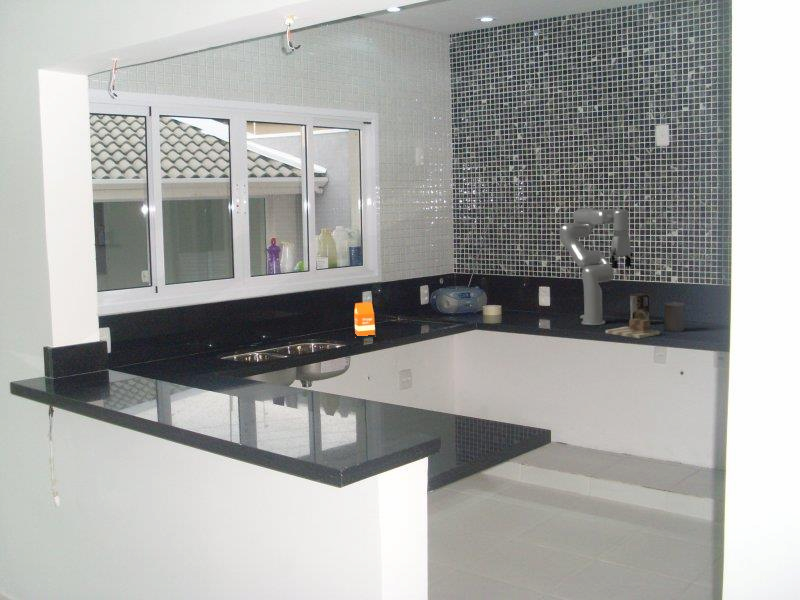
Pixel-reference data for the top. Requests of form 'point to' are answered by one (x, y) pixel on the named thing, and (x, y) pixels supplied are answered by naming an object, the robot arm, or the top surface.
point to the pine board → (625, 332)
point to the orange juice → (364, 319)
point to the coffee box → (639, 306)
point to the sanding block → (639, 325)
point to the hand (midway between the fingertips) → (621, 267)
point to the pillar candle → (674, 317)
